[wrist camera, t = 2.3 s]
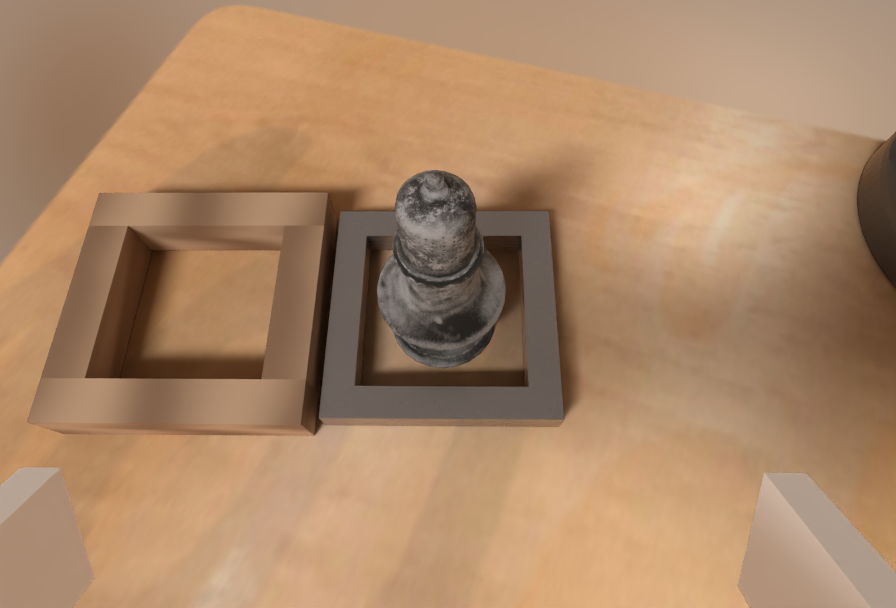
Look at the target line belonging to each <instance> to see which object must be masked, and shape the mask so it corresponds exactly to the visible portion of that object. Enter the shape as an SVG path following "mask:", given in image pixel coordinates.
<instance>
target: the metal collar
mask: <svg viewBox="0 0 896 608" xmlns="http://www.w3.org/2000/svg"><path fill="white" fill-rule="evenodd" d="M476 226H477V227H478V229H479V231H480V233H481V234H482V237H483V242H484V248H486V249H487V250H519V270H520V292H521V314H522V335H523V357H524V379H525V387H473V386H360V385H361V372H362V359H363V346H364V333H365V320H366V307H367V294H368V281H369V268H370V254H371V250H393V247H392V246H393V241H394V236H395V234H396V232H397V230H398V225H397V219H396V213H395V211H340V220H339V230H338V239H337V249H336V258H335V268H334V277H333V287H332V296H331V306H330V315H329V325H328V334H327V344H326V353H325V363H324V372H323V382H322V391H321V401H320V410H319V419H320V420H321V421H322V422H323V423H324V424H325V425H382V426H526V427H559V426H560V424H561V423H562V422H563V420H564V412H563V399H562V385H561V371H560V358H559V344H558V330H557V317H556V303H555V289H554V276H553V262H552V248H551V235H550V221H549V211H476Z"/></svg>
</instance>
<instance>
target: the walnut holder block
mask: <svg viewBox="0 0 896 608" xmlns="http://www.w3.org/2000/svg"><path fill="white" fill-rule="evenodd" d="M336 228H337V216H336V213H335V211H334V208H333V205H332V202H331V200H330V197H329V194H328V192H303V193H99V196H98V199H97V202H96V205H95V208H94V211H93V215H92V218H91V221H90V224H89V227H88V230H87V234H86V237H85V240H84V243H83V246H82V249H81V252H80V256H79V259H78V262H77V265H76V268H75V271H74V275H73V278H72V281H71V284H70V287H69V290H68V294H67V297H66V300H65V303H64V306H63V309H62V313H61V316H60V319H59V322H58V325H57V328H56V332H55V335H54V338H53V341H52V344H51V347H50V351H49V354H48V357H47V360H46V363H45V366H44V370H43V373H42V376H41V379H40V382H39V385H38V388H37V392H36V395H35V398H34V401H33V404H32V407H31V411H30V414H29V417H28V420H27V423H30V424H33V425H37V426H40V427H43V428H46V429H50V430H53V431H56V432H59V433H63V434H157V435H293V436H314V434H315V425H316V415H317V406H318V397H319V387H320V378H321V369H322V359H323V350H324V341H325V331H326V322H327V312H328V303H329V294H330V284H331V275H332V266H333V256H334V247H335V238H336ZM152 250H281V252H280V259H279V265H278V272H277V279H276V285H275V292H274V299H273V305H272V312H271V318H270V325H269V332H268V338H267V345H266V351H265V358H264V365H263V371H262V378H261V379H119V378H120V374H121V370H122V366H123V363H124V359H125V355H126V351H127V347H128V343H129V339H130V335H131V331H132V328H133V324H134V320H135V316H136V312H137V308H138V304H139V300H140V296H141V293H142V289H143V285H144V281H145V277H146V273H147V269H148V265H149V262H150V258H151V254H152Z"/></svg>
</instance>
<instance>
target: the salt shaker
mask: <svg viewBox="0 0 896 608" xmlns="http://www.w3.org/2000/svg"><path fill="white" fill-rule="evenodd" d="M395 213H396V219H397V225H398V230H397V232H396V234H395V236H394V241H393V246H392V247H393V255H392V256H391V257H390V258H389V259H388V260H387V262H386V264H385V266H384V267H383V269H382V271H381V273H380V277H379V281H378V286H377V296H378V305H379V308H380V310H381V313H382V315H383V318H384V320H385V321H386V323H387V324H388V325H389V327H390V328H391V329H392V330H393V332H394V335H395V337H396V340H397V342H398V344H399V345H400V346H401V348H402V349H403V350H404V352H405V353H406V354H407V355H409V356H410V357H411V358H413V359H414V360H415V361H417V362H420V363H422V364H425V365H427V366H430V367H438V368H448V367H456V366H459V365H461V364H464V363H466V362H469V361H471V360H472V359H473V358H475V357H476V356H477V355H479V354H480V353H481V352H482V351H483V349H484V348H485V347H486V346H487V344H488V343H489V341H490V339H491V336H492V334H493V331H494V324H495V323H496V321H497V320H498V319H499V316H500V314H501V311H502V309H503V307H504V303H505V294H506V286H505V280H504V275H503V272H502V270H501V268H500V266H499V264H498V262H497V260H496V259H495V258H494V257H493V256H492V255H491V254H490V252H489V251H488V250H487V249H486V248H484V242H483V237H482V234H481V233H480V231H479V229H478V227H477V226H476V202H475V198H474V195H473V193H472V191H471V189H470V187H469V186H468V185H467V184H466V183H465V182H464V181H463V180H462V179H461V178H459V177H458V176H456V175H454V174H451V173H448V172H445V171H439V170H431V171H424V172H421V173H418V174H416V175H414V176H413V177H411V178H409V179H408V180H407V181H406V182H405V183H404V184H403V185H402V186H401V188H400V190H399V192H398V193H397V198H396V203H395Z"/></svg>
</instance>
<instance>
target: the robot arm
mask: <svg viewBox="0 0 896 608" xmlns="http://www.w3.org/2000/svg"><path fill="white" fill-rule="evenodd" d="M858 212H859V218H860V223H861V226H862V230H863V233H864V235H865V238H866V241H867V243H868V245H869V247H870V249H871V251H872V253H873V255H874V257H875V258H876V260H877V262H878V263H879V265H880V266H881V268H882V269H883V271H884V272H885V273H886V275H887V276H888V277H889V279H890V280H891V281H892V282H893V283H894V285H895V286H896V132H895V133H894V134H893V135H892V136H891V137H890V138H889V139H888V140H887V141H886V142H885V143H884V144H883V145H882V146H881V147H880V148H879V149H878V150H877V151H876V152H875V153H874V154H873V155H872V157H871V158H870V160H869V161H868V163H867V165H866V166H865V168H864V171H863V173H862V176H861V179H860V183H859V189H858ZM93 580H94V575H93V572H92V569H91V565H90V562H89V559H88V555H87V552H86V549H85V546H84V542H83V539H82V536H81V532H80V529H79V526H78V523H77V519H76V516H75V513H74V509H73V506H72V503H71V499H70V496H69V493H68V490H67V486H66V483H65V480H64V476H63V473H62V470H61V468H39V467H21V468H20V469H18V470H17V471H16V472H15V473H14V474H13V475H12V476H10V477H9V478H8V479H7V480H6V481H5V482H3V483H2V484H1V485H0V608H73V607H74V606H75V604H76V603H77V601H78V600H79V599H80V597H81V596H82V595H83V593H84V592H85V591H86V589H87V588H88V587H89V585H90V584H91V583H92V581H93ZM738 587H739V589H740V591H741V593H742V595H743V596H744V598H745V600H746V602H747V604H748V605H749V607H750V608H896V572H895V571H894V570H893V568H892V567H891V566H890V565H889V564H888V563H887V562H886V561H885V560H884V558H883V557H882V556H881V555H880V554H879V553H878V552H877V551H876V550H875V548H874V547H873V546H872V545H871V544H870V543H869V542H868V541H867V540H866V539H865V537H864V536H863V535H862V534H861V533H860V532H859V531H858V530H857V529H856V527H855V526H854V525H853V524H852V523H851V522H850V521H849V520H848V519H847V517H846V516H845V515H844V514H843V513H842V512H841V511H840V510H839V509H838V507H837V506H836V505H835V504H834V503H833V502H832V501H831V500H830V499H829V497H828V496H827V495H826V494H825V493H824V492H823V491H822V490H821V489H820V487H819V486H818V485H817V484H816V483H815V482H814V481H813V480H812V479H811V478H810V476H809V475H808V474H807V473H764V476H763V480H762V484H761V489H760V493H759V497H758V501H757V506H756V510H755V514H754V518H753V523H752V527H751V531H750V536H749V540H748V544H747V548H746V553H745V557H744V561H743V566H742V570H741V574H740V578H739V583H738Z"/></svg>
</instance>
